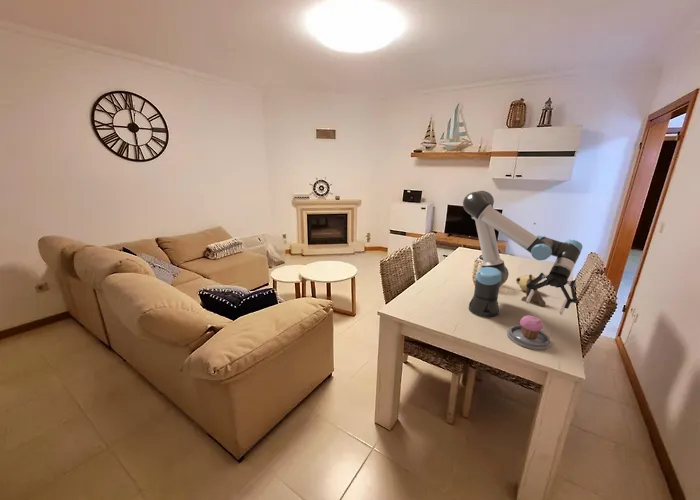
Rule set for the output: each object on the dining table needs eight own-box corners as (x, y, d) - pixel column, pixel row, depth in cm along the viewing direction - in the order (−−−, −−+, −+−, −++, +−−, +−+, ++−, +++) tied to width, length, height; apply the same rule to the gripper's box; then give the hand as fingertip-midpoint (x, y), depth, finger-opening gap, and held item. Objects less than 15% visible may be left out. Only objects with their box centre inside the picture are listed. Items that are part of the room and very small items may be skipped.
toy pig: (520, 285, 193) (523, 270, 190) (539, 292, 183) (542, 276, 180) (511, 288, 188) (514, 273, 185) (530, 295, 178) (534, 279, 175)
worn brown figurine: (520, 304, 173) (518, 274, 171) (524, 301, 176) (522, 272, 174) (543, 307, 163) (541, 276, 161) (547, 305, 166) (545, 274, 164)
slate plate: (499, 336, 135) (500, 331, 135) (518, 325, 144) (519, 321, 144) (539, 355, 122) (540, 350, 121) (557, 342, 131) (558, 337, 130)
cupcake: (544, 341, 129) (549, 321, 126) (525, 342, 128) (530, 322, 126) (531, 331, 137) (535, 311, 135) (513, 331, 137) (517, 312, 134)
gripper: (595, 281, 131) (576, 322, 126) (534, 266, 149) (516, 301, 145) (594, 273, 126) (575, 315, 121) (531, 258, 144) (513, 294, 140)
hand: (543, 307), depth 133 cm, fingers open, 13 cm apart
